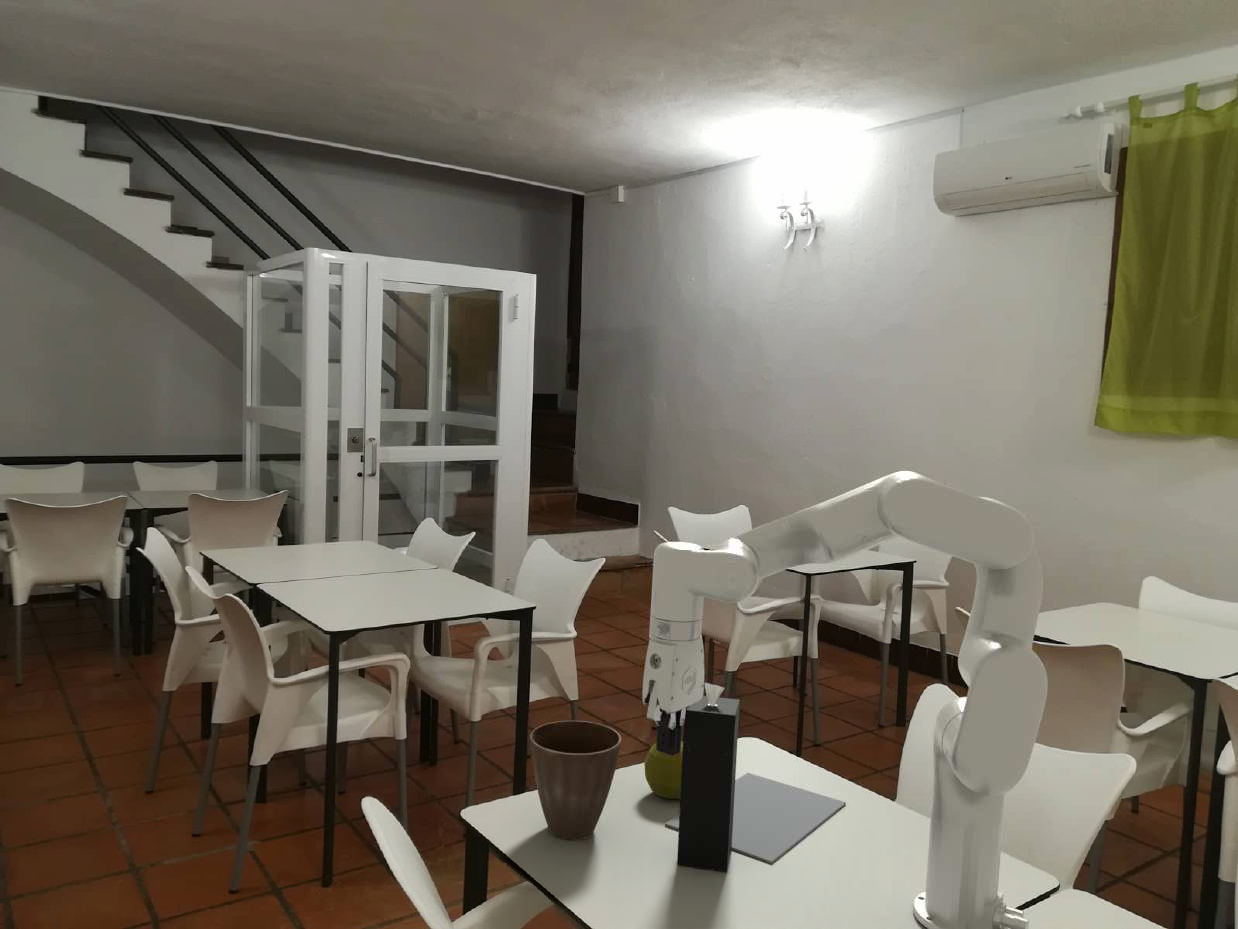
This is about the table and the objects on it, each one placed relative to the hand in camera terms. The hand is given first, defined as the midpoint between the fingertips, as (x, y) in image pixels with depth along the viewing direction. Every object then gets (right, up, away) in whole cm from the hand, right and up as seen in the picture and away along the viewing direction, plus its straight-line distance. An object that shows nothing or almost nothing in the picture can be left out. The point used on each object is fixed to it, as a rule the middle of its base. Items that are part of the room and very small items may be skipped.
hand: (668, 751), depth 141 cm
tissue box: (+6, -20, +11) cm, 24 cm away
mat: (+17, -19, +27) cm, 38 cm away
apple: (+2, -18, +34) cm, 39 cm away
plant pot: (-15, -19, +18) cm, 30 cm away
